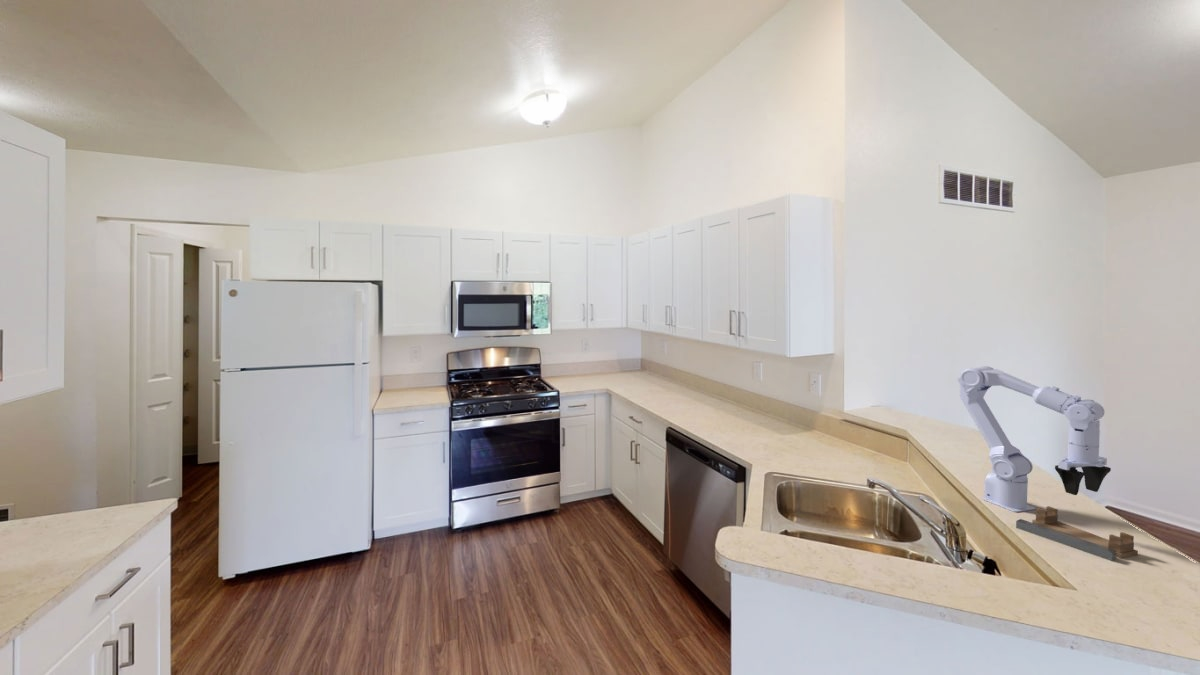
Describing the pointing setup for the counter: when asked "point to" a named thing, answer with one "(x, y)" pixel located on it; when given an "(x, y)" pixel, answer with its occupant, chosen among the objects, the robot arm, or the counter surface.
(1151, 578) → the counter surface
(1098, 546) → the graphite rail
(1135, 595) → the counter surface
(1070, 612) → the counter surface
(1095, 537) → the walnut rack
